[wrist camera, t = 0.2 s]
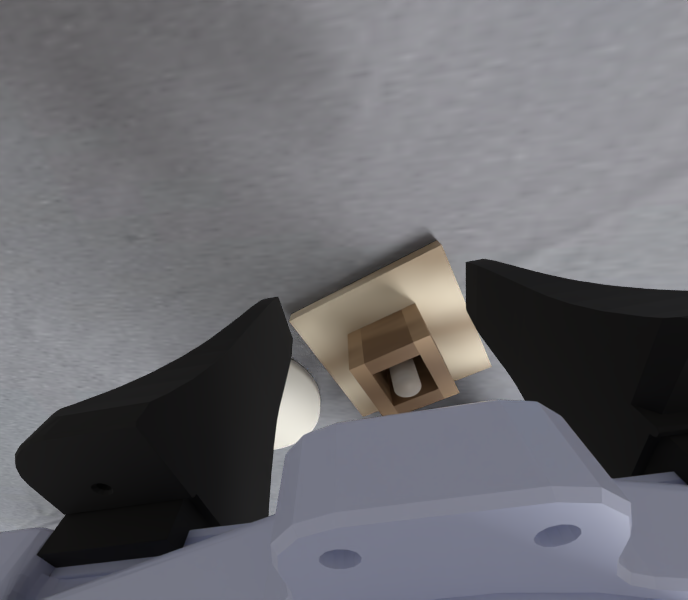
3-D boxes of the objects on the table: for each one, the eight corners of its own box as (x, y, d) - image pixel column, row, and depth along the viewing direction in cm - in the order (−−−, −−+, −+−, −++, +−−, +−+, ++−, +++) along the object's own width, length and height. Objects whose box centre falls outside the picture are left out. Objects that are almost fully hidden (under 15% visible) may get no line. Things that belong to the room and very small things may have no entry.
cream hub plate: (344, 415, 29) (345, 471, 24) (244, 455, 31) (227, 513, 26) (270, 325, 23) (252, 373, 19) (158, 381, 26) (117, 437, 21)
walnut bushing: (441, 355, 24) (459, 392, 20) (379, 381, 25) (386, 420, 22) (415, 302, 22) (430, 335, 18) (347, 334, 23) (349, 370, 19)
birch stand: (486, 358, 25) (521, 410, 21) (362, 408, 28) (367, 464, 23) (437, 240, 20) (467, 272, 16) (291, 314, 23) (278, 361, 18)
